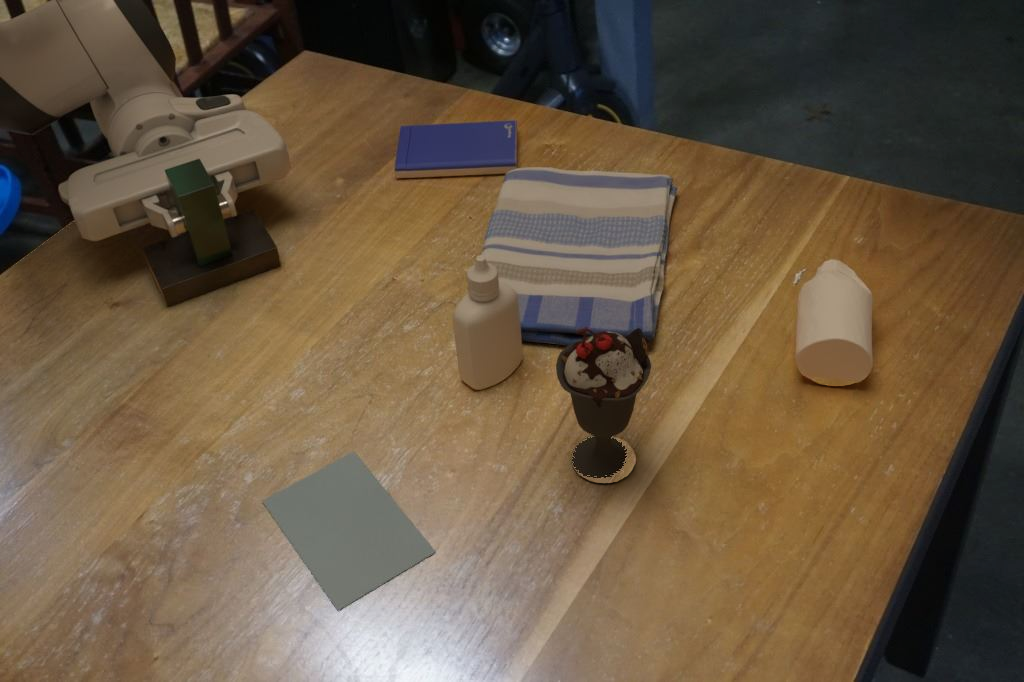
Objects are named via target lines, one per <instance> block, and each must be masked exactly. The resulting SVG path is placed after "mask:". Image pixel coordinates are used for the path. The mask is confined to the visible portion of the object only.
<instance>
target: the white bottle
mask: <svg viewBox="0 0 1024 682" xmlns="http://www.w3.org/2000/svg"><path fill="white" fill-rule="evenodd" d="M873 297H874V296H873V294H872V291H871V290H870V289H869V288H868V286H867V285H866V284H865V283H864V282H863V281H862V279H861V278H860V277H859V276H858V275H857V273H856V272H855V270H853V269H852V268H850V267H849V266H848V265H847V264H846V263H843V262H842V261H841V260H839V259H835V258H834V259H832V258H831V259H829V260H825V261H823V262H822V263H821V265H819V266H818V268H816V273H815V275H814V276H813V277H812V278H811V279H809V280H808V281H806V282H804V283H803V284H802V286H801V288H800V290H799V292H798V296H797V307H796V320H795V321H796V322H795V350H794V351H795V353H794V363H795V366H796V368H797V370H798V371H799V373H800V374H801V376H803V377H804V376H810V377H822V378H826V379H838V380H839V379H840V380H844V381H854V382H859V383H861V382H862V381H864V380H865V379H866V378H867V377H868V376H869V375H871V372H872V369H873V368H874V367H873V366H874V356H873V331H872V330H873V311H874V309H873V308H874V306H873V305H874V298H873Z"/></svg>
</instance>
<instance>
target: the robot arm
mask: <svg viewBox="0 0 1024 682" xmlns="http://www.w3.org/2000/svg"><path fill="white" fill-rule="evenodd" d="M176 62H177V58H176V54H175V52H174V48H173V46H172V45H171V43H170V41H169V39H168V37H167V35H166V33H165V32H164V29H163V28H162V26H161V25H160V24H159V22H158V21H157V20H156V18H155V17H154V16H153V14H152V12H151V11H150V9H149V8H148V6H147V4H146V3H145V1H144V0H48V1H47V2H45V3H42V4H40V5H38V6H36V7H34V8H32V9H30V10H28V11H26V12H24V13H22V14H18V15H17V16H15V17H13V18H10V19H9V20H5V21H0V130H4V131H7V132H12V133H16V134H21V135H31V136H34V135H35V134H37V133H39V132H41V131H42V130H44V129H46V128H47V127H49V126H50V125H52V124H54V123H55V122H57V121H59V120H60V119H62V117H63V116H65V115H66V114H68V113H70V112H72V111H75V110H77V109H78V108H80V107H82V106H84V105H86V104H88V103H89V105H90V107H91V110H92V113H93V116H94V118H95V119H94V120H95V121H96V123H97V125H98V127H99V129H100V132H101V134H102V135H103V136H104V138H105V139H106V140H107V143H108V147H109V149H110V151H111V153H112V155H113V158H110V159H106V160H104V161H100V162H97V163H94V164H91V165H88V166H85V167H82V168H79V169H77V170H75V171H74V172H73V173H71V174H70V175H69V177H68V179H66V180H64V181H63V182H60V184H58V194H59V197H60V200H61V201H62V202H63V203H64V204H65V205H68V206H69V208H70V212H71V214H72V217H73V219H74V222H75V225H76V227H77V229H78V231H79V234H80V237H81V238H82V239H85V240H87V241H91V242H99V241H101V240H104V239H107V238H110V237H113V236H116V235H120V234H122V233H124V232H128V231H130V230H133V229H137V228H139V227H142V226H146V225H148V224H150V225H151V226H152V227H156V228H159V229H164V230H165V231H168V233H169V235H170V238H171V237H172V238H174V237H176V236H179V235H182V234H185V233H187V232H188V231H187V228H186V226H185V222H184V219H183V217H182V215H181V214H180V211H179V210H178V209H176V206H175V203H174V199H173V196H172V193H171V190H170V187H169V183H168V180H167V177H166V174H165V170H166V169H169V168H172V167H175V166H178V165H181V164H184V163H187V162H190V161H193V160H196V159H200V160H201V162H202V164H203V165H204V167H205V169H206V171H207V173H208V174H209V176H210V178H211V180H212V182H213V183H214V185H215V189H216V193H217V197H218V200H219V204H220V208H221V212H222V215H223V219H227V218H230V217H234V216H237V214H238V212H237V208H236V205H235V204H236V201H237V198H238V196H239V195H238V194H239V193H243V192H246V191H248V190H251V189H254V188H257V187H261V186H264V185H266V184H269V183H271V182H275V181H277V180H281V179H283V178H285V177H287V176H288V175H289V173H290V171H291V168H292V165H291V159H290V155H289V151H288V148H287V145H286V142H285V139H284V137H282V135H281V134H280V132H279V131H278V130H277V128H276V127H274V125H272V124H271V123H270V122H269V121H268V119H266V118H265V117H264V116H262V115H261V114H260V113H258V112H255V111H254V110H247V107H246V105H245V103H244V99H243V98H242V97H241V96H240V95H238V94H235V93H233V94H232V93H231V94H222V95H216V96H215V95H214V96H206V97H205V96H204V97H184V96H183V93H182V92H181V90H180V88H179V87H178V86H177V84H176V83H175V82H174V79H175V76H176V68H177V67H176V66H177V65H176V64H177V63H176Z"/></svg>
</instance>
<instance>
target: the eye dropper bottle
mask: <svg viewBox="0 0 1024 682" xmlns="http://www.w3.org/2000/svg"><path fill="white" fill-rule="evenodd" d="M466 281H467V291H468V292H466V293H465V295H463V297H462V298H461V299H460V301H459V302H458V303H457V305H456V307H455V309H454V310H453V313H452V324H453V325H452V326H453V334H454V341H455V350H456V358H457V365H458V373H459V379H461V381H462V382H464V383H465V384H466V385H467V386H469V387H470V388H471V389H473V390H479V391H481V390H485V389H488V388H490V387H492V386H495V385H497V384H499V383H501V382H503V381H504V380H506V379H507V378H508V377H510V376H511V375H512V374H513V373H514V372H515V371H516V369H518V367H519V366H520V364H521V363H522V361H523V355H524V354H523V341H522V338H521V325H520V312H519V302H518V295H517V293H516V291H515V290H514V289H513V288H512V287H510V286H509V285H507V284H505V283H503V282H499V279H498V270H497V268H496V267H495V266H494V265H492V264H489V263H487V261H486V258H485V256H483V255H481V254H480V255H477V256H476V257H475V263H474V264H473V265H471V266H470V267H468V269H467V271H466Z"/></svg>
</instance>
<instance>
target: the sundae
mask: <svg viewBox="0 0 1024 682" xmlns="http://www.w3.org/2000/svg"><path fill="white" fill-rule="evenodd" d="M586 331H589V332H591V333H592V334H594V335H593V336H589V337H586V333H585V332H586ZM577 332H578V333H579V334H584V337H583V339H582V340H579V341H577V342H575V343H573V344H570V345H566V346H565V347H564V348H563V349H562V350H561V351H560V352H559V355H558V356H557V360H556V364H555V369H556V370H555V371H556V376H557V380H558V382H559V384H560V387H561V388H562V389H563V390H564V391H565V392H567V393H568V394H570V398H571V402H572V407H573V412H574V413H573V414H574V415H575V418H576V421H577V424H578V426H579V427H580V428H581V430H582V431H584V432H585V433H587V434H589V435H590V436H593V435H594V437H592V438H591V437H590V436H589V437H590V438H588V437H586V438H587V440H585V441H582V440H581V441H582V443H580V442H578V444H579V445H578V444H576V445H575V447H574V448H575V451H576V452H575V451H574V453H573V452H572V453H573V456H574V457H575V458H574V457H572V458H573V459H572V461H573V462H574V463H573V462H571V464H572V463H573V466H574V467H576V468H575V469H576V470H579V473H582V474H583V476H587V475H590V476H587V477H593V478H601V477H604V478H606V477H612V476H610V475H614V474H613V473H617V472H616V471H620V470H619V469H621V468H622V466H624V465H623V464H624V463H623V462H624V461H625V458H626V457H627V456H625V455H626V454H627V453H625V452H626V451H627V449H626V450H624V449H625V446H623V447H622V442H621V443H620V442H618V441H617V440H616V439H614V438H612V439H611V437H612V436H617V435H619V434H621V433H622V432H624V431H625V430H626V428H627V427H628V426H629V424H630V421H631V418H632V416H633V412H634V408H635V405H636V404H635V403H636V399H637V394H639V392H640V391H641V390H642V388H643V387H644V386H645V384H646V383H647V382H648V380H649V377H650V374H651V370H652V363H651V360H650V359H651V358H650V356H649V349H648V344H647V345H646V342H645V339H644V337H643V334H642V330H641V329H640V328H637V329H635V330H634V331H633V332H631V333H630V334H629V335H627V336H626V337H623V336H622V335H620V334H618V333H616V332H610V331H603V332H599V333H597V334H596V333H594V332H593V331H591V330H589V329H587V326H586V327H585V328H583V329H580V330H577ZM576 447H577V448H576ZM625 463H626V462H625ZM573 466H572V467H573ZM577 472H578V471H577ZM605 475H607V476H605ZM594 476H597V477H594Z"/></svg>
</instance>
